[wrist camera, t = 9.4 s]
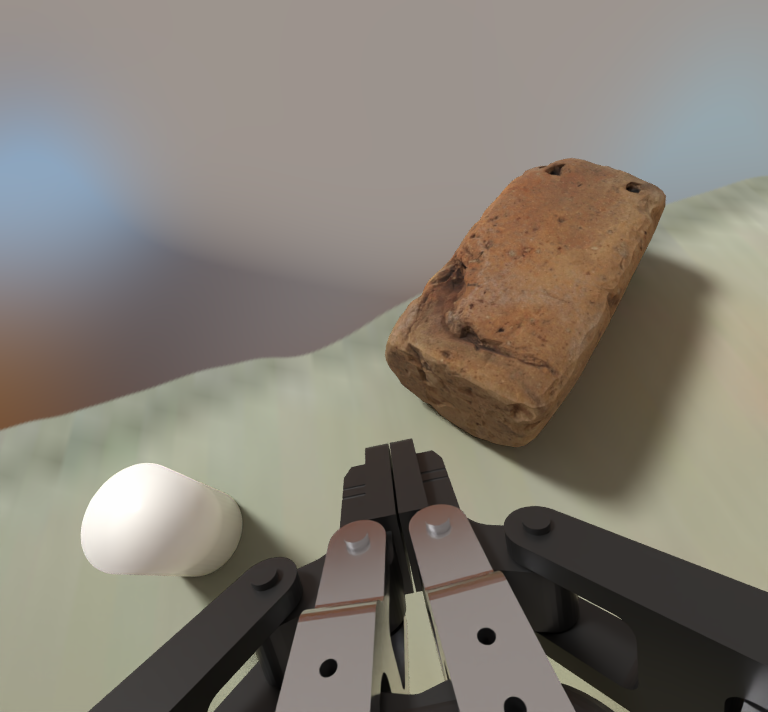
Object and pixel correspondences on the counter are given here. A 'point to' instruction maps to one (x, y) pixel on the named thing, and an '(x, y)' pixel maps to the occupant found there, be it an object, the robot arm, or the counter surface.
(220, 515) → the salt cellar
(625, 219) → the block
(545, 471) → the counter surface
